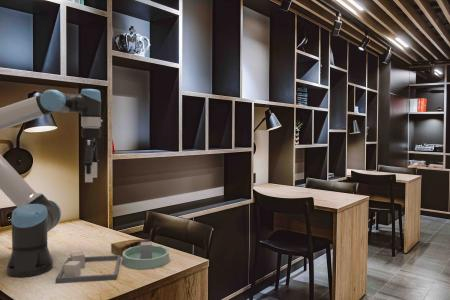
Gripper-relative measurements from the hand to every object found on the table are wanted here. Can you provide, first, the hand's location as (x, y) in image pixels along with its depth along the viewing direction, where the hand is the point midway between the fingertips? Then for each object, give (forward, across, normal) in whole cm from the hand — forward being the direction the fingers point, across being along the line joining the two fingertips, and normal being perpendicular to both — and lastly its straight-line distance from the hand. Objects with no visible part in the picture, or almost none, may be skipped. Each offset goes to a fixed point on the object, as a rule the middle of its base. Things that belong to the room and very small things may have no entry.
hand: (91, 179), depth 154 cm
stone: (+32, +3, -15) cm, 36 cm away
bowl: (+32, -9, -22) cm, 40 cm away
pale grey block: (+32, -12, +4) cm, 34 cm away
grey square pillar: (+31, -9, -22) cm, 39 cm away
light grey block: (+32, -22, +4) cm, 39 cm away
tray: (+32, -16, -2) cm, 36 cm away
